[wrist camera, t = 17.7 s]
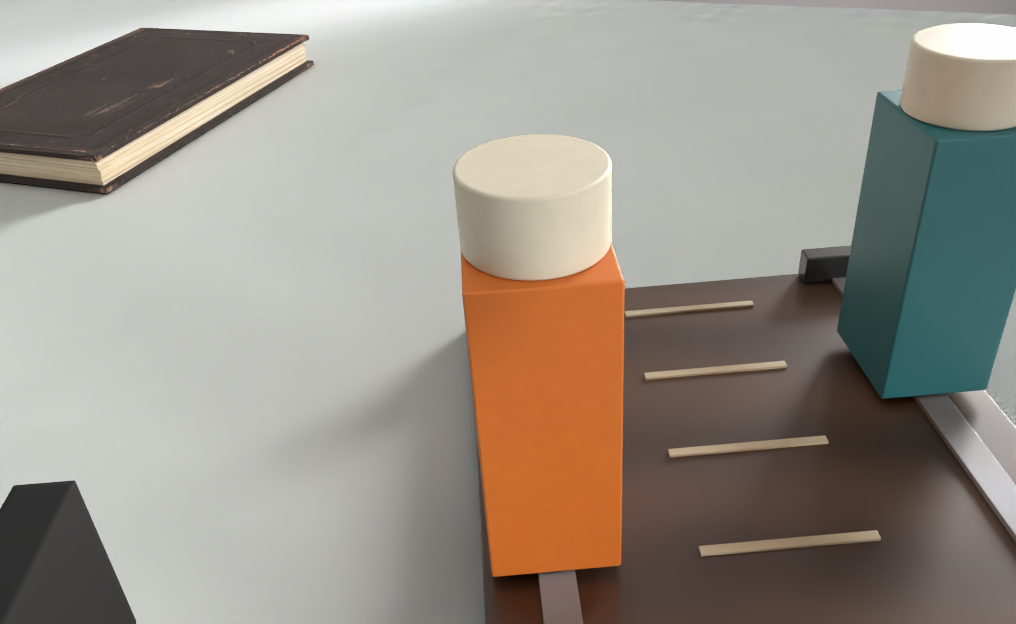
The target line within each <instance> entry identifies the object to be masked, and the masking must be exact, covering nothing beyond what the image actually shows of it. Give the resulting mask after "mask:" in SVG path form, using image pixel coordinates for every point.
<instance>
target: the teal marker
mask: <svg viewBox="0 0 1016 624" xmlns="http://www.w3.org/2000/svg"><path fill="white" fill-rule="evenodd" d="M1015 289H1016V28H1012V27H1007V26H1000V25H991V24H975V23H962V24H947V25H939V26H934V27H930V28H926V29H923V30H920V31H919V32H917V33H916V34H914V36H913V38H912V40H911V45H910V50H909V56H908V61H907V66H906V72H905V77H904V83H903V88H902V90H895V91H883V92H878V93H877V98H876V104H875V110H874V116H873V122H872V127H871V133H870V139H869V145H868V151H867V157H866V163H865V168H864V174H863V180H862V186H861V192H860V198H859V204H858V210H857V215H856V221H855V227H854V233H853V239H852V245H851V251H850V256H849V262H848V268H847V274H846V280H845V286H844V292H843V298H842V303H841V309H840V315H839V321H838V327H837V332H838V334H839V335H840V337H841V338H842V340H843V341H844V343H845V344H846V346H847V347H848V349H849V350H850V352H851V353H852V355H853V356H854V358H855V359H856V361H857V362H858V364H859V365H860V367H861V368H862V370H863V372H864V373H865V375H866V376H867V378H868V379H869V381H870V382H871V384H872V385H873V387H874V388H875V390H876V391H877V393H878V394H879V396H880V397H881V398H882V399H886V398H898V397H909V396H921V395H932V394H944V393H955V392H967V391H978V390H985V389H986V388H987V385H988V381H989V378H990V374H991V371H992V368H993V364H994V361H995V357H996V354H997V351H998V347H999V344H1000V340H1001V337H1002V334H1003V330H1004V327H1005V323H1006V320H1007V317H1008V313H1009V310H1010V306H1011V303H1012V300H1013V296H1014V293H1015Z"/></svg>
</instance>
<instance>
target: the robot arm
mask: <svg viewBox="0 0 1016 624" xmlns="http://www.w3.org/2000/svg"><path fill="white" fill-rule="evenodd" d="M0 624H136V620H135V617H134V615H133V613H132V611H131V608H130V606H129V604H128V601H127V599H126V597H125V594H124V592H123V590H122V588H121V585H120V583H119V581H118V578H117V576H116V574H115V572H114V569H113V567H112V565H111V562H110V560H109V558H108V555H107V553H106V551H105V549H104V546H103V544H102V542H101V539H100V537H99V535H98V533H97V530H96V528H95V526H94V523H93V521H92V519H91V516H90V514H89V512H88V510H87V507H86V505H85V503H84V500H83V498H82V496H81V494H80V491H79V489H78V487H77V484H76V482H75V481H63V482H51V483H39V484H27V485H15V486H13V488H12V490H11V491H10V493H9V495H8V496H7V498H6V500H5V502H4V503H3V505H2V507H1V509H0Z"/></svg>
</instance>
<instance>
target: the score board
mask: <svg viewBox="0 0 1016 624" xmlns="http://www.w3.org/2000/svg"><path fill="white" fill-rule="evenodd" d="M850 251H851V246H841V247H829V248H817V249H805V250H802V251H801V258H800V266H799V273H798V274H792V275H780V276H768V277H756V278H744V279H732V280H720V281H709V282H697V283H685V284H673V285H661V286H649V287H637V288H625V293H624V375H623V456H622V537H621V565H619V566H610V567H599V568H588V569H577V570H566V571H554V572H543V573H532V574H521V575H510V576H499V577H493V576H492V572H491V563H490V553H489V544H488V534H487V525H486V515H485V506H484V496H483V487H482V477H481V467H480V458H479V448H478V439H477V455H478V476H479V497H480V518H481V540H482V561H483V582H484V603H485V624H1016V427H1015V426H1014V424H1013V423H1012V422H1011V421H1010V420H1009V418H1008V417H1007V416H1006V415H1005V413H1004V412H1003V411H1002V410H1001V409H1000V407H999V406H998V405H997V404H996V403H995V401H994V400H993V399H992V398H991V397H990V395H989V394H988V393H987V392H986V390H978V391H967V392H955V393H944V394H932V395H921V396H909V397H898V398H886V399H882V398H881V397H880V396H879V394H878V393H877V391H876V390H875V388H874V387H873V385H872V384H871V382H870V381H869V379H868V378H867V376H866V375H865V373H864V372H863V370H862V368H861V367H860V365H859V364H858V362H857V361H856V359H855V358H854V356H853V355H852V353H851V352H850V350H849V349H848V347H847V346H846V344H845V343H844V341H843V340H842V338H841V337H840V335H839V334H838V332H837V327H838V321H839V315H840V309H841V303H842V298H843V292H844V286H845V280H846V274H847V268H848V262H849V256H850ZM476 433H477V429H476Z"/></svg>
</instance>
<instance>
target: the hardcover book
mask: <svg viewBox="0 0 1016 624" xmlns="http://www.w3.org/2000/svg"><path fill="white" fill-rule="evenodd" d="M307 40H309V36H308V35H298V34H274V33H251V32H228V31H204V30H181V29H158V28H140V29H137V30H135V31H133V32H131V33H128V34H126V35H124V36H121V37H119V38H117V39H114V40H112V41H110V42H108V43H105V44H103V45H101V46H98V47H96V48H94V49H91V50H89V51H87V52H85V53H82V54H80V55H78V56H75V57H73V58H71V59H68V60H66V61H64V62H62V63H59V64H57V65H55V66H52V67H50V68H48V69H45V70H43V71H41V72H39V73H36V74H34V75H32V76H29V77H27V78H25V79H22V80H20V81H18V82H16V83H13V84H11V85H9V86H6V87H4V88H2V89H0V181H2V182H11V183H19V184H28V185H37V186H45V187H54V188H62V189H71V190H79V191H88V192H97V193H105V194H108V193H110V192H111V191H113V190H114V189H116V188H118V187H119V186H121V185H122V184H124V183H126V182H127V181H129V180H130V179H132V178H134V177H135V176H137V175H138V174H140V173H141V172H143V171H145V170H146V169H148V168H149V167H151V166H153V165H154V164H156V163H157V162H159V161H161V160H162V159H164V158H165V157H167V156H169V155H170V154H172V153H173V152H175V151H177V150H178V149H180V148H181V147H183V146H185V145H186V144H188V143H189V142H191V141H192V140H194V139H196V138H197V137H199V136H200V135H202V134H204V133H205V132H207V131H208V130H210V129H212V128H213V127H215V126H216V125H218V124H220V123H221V122H223V121H224V120H226V119H228V118H229V117H231V116H232V115H234V114H235V113H237V112H239V111H240V110H242V109H243V108H245V107H247V106H248V105H250V104H251V103H253V102H255V101H256V100H258V99H259V98H261V97H263V96H264V95H266V94H267V93H269V92H271V91H272V90H274V89H275V88H277V87H279V86H280V85H282V84H283V83H285V82H286V81H288V80H290V79H291V78H293V77H294V76H296V75H298V74H299V73H301V72H302V71H304V70H306V69H307V68H309V67H310V66H312V65H313V64H314V63H313V61H307V59H306V58H307V57H306V49H305V48H304V44H303V42H305V41H307Z"/></svg>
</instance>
